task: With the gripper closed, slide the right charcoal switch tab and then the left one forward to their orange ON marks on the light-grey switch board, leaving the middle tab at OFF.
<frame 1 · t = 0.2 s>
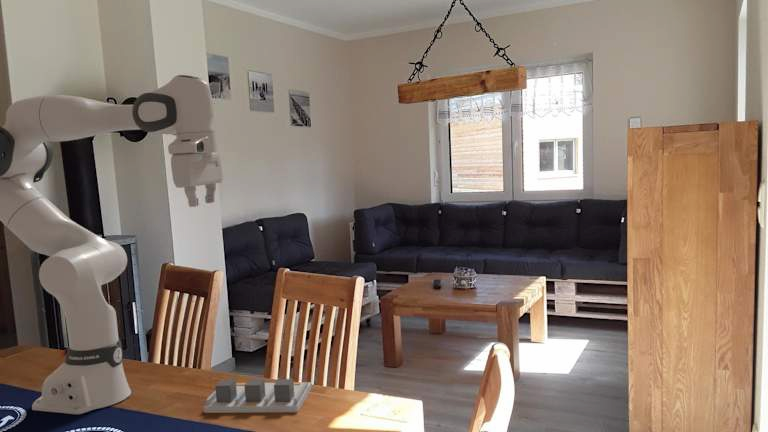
hand: (202, 204, 143), 47 cm above the table, fingers open, 8 cm apart
tab left: (226, 390, 142), point 4 cm above the table, slide at 0.0 cm
tab right: (284, 390, 140), point 4 cm above the table, slide at 0.0 cm
switch board: (260, 400, 144), on the table
tab middle: (255, 390, 141), point 4 cm above the table, slide at 0.0 cm
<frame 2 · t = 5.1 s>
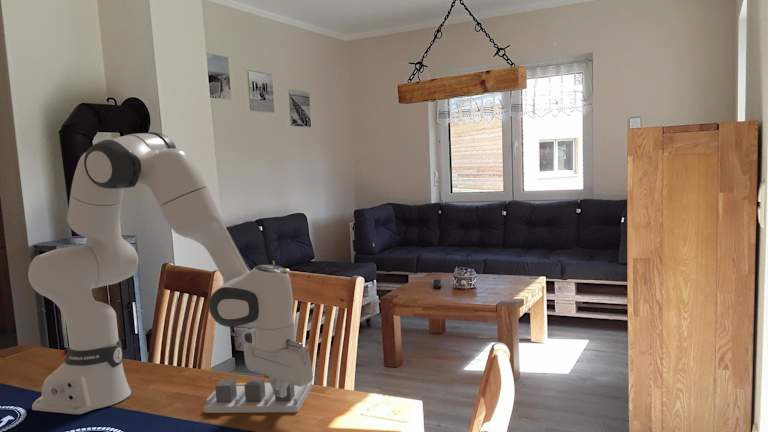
hand: (280, 395, 137), 4 cm above the table, fingers closed
tab right: (284, 389, 141), point 4 cm above the table, slide at 0.3 cm, touching gripper
everything else where it was.
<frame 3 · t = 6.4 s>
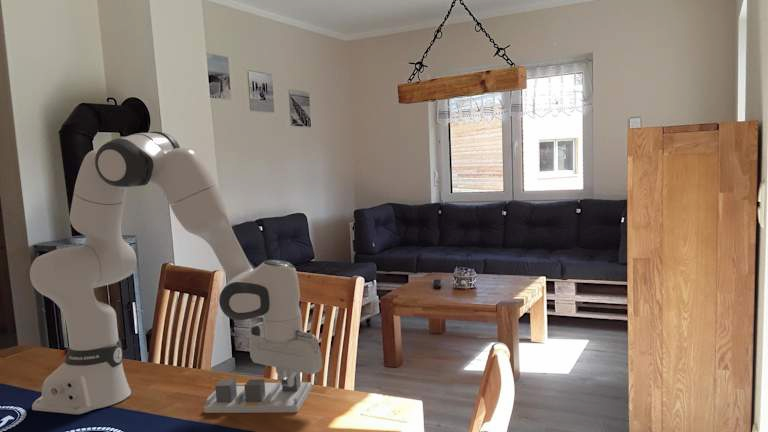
hand: (287, 385, 143), 4 cm above the table, fingers closed
tab right: (291, 380, 146), point 4 cm above the table, slide at 6.1 cm, touching gripper
everything else where it was.
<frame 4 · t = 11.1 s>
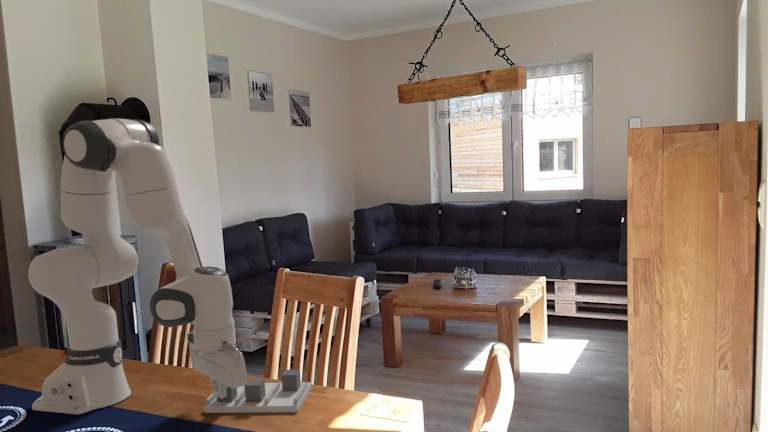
hand: (220, 396, 139), 4 cm above the table, fingers closed
tab left: (226, 390, 142), point 4 cm above the table, slide at 0.3 cm, touching gripper
tab right: (291, 380, 146), point 4 cm above the table, slide at 6.2 cm
everything else where it was.
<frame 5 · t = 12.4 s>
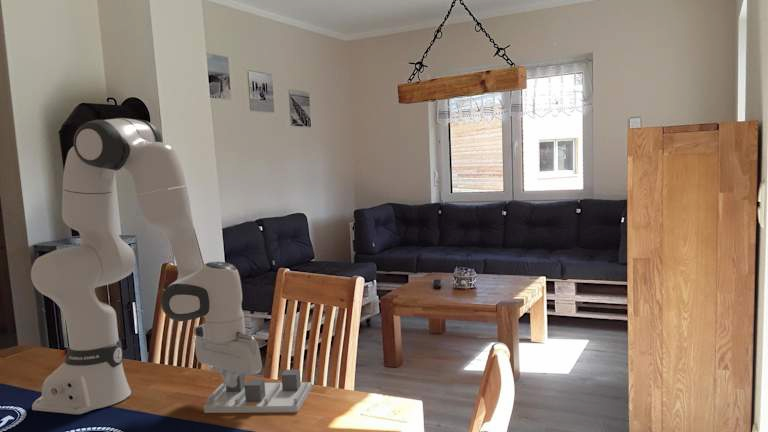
hand: (230, 386, 145), 4 cm above the table, fingers closed
tab left: (235, 381, 148), point 4 cm above the table, slide at 6.1 cm, touching gripper
everything else where it was.
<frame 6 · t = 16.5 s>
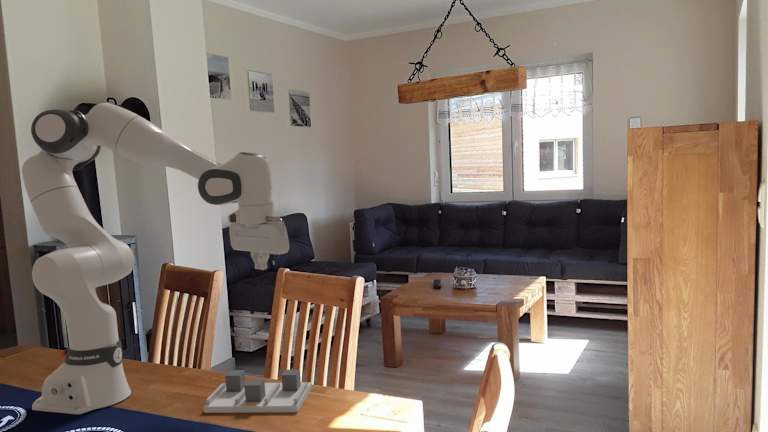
hand: (261, 269, 155), 29 cm above the table, fingers closed
tab left: (235, 380, 148), point 4 cm above the table, slide at 6.2 cm
everything else where it was.
at the end: tab right slide at 6.2 cm; tab left slide at 6.2 cm; tab middle slide at 0.0 cm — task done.
